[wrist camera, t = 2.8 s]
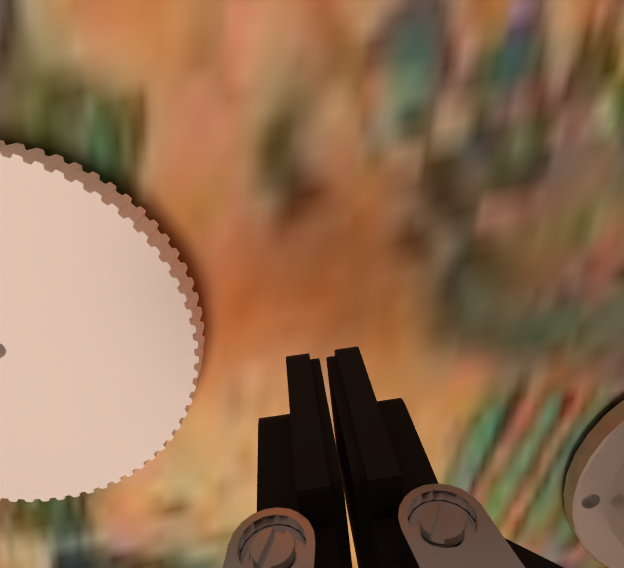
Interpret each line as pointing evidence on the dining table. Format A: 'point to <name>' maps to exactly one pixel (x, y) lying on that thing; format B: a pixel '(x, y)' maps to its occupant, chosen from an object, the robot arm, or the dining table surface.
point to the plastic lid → (86, 331)
